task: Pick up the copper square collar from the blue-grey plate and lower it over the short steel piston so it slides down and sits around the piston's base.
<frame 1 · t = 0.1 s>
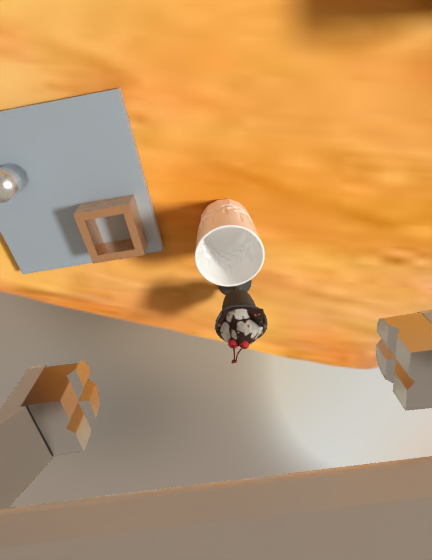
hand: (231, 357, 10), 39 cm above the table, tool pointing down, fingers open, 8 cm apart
white cup: (224, 221, 50), on the table
collar: (115, 223, 48), point 1 cm above the table, touching plate
piston: (19, 173, 45), resting on plate
sundae: (234, 282, 55), on the table
plate: (67, 189, 47), on the table
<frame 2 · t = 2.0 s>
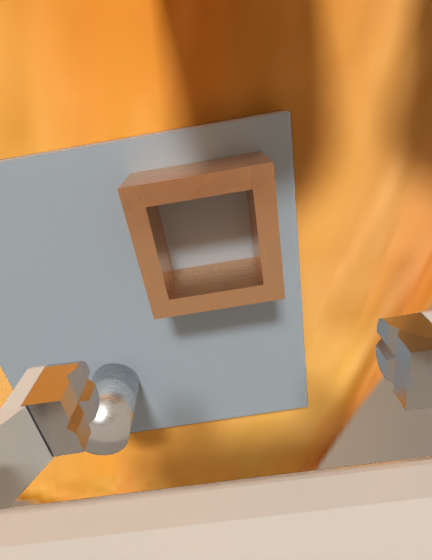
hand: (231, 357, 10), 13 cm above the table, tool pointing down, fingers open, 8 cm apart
collar: (206, 224, 20), point 1 cm above the table, touching plate
piston: (120, 367, 26), resting on plate
plate: (144, 301, 24), on the table
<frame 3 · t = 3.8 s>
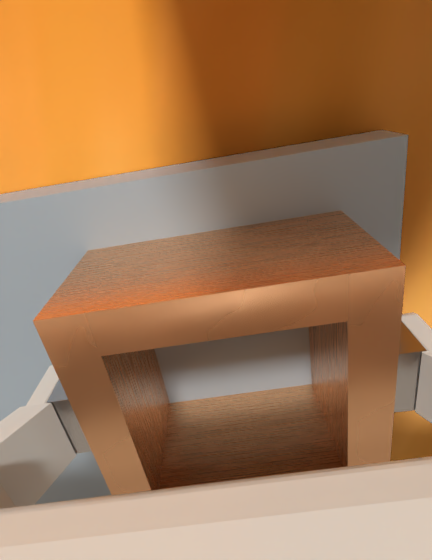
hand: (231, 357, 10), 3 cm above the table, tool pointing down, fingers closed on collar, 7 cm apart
collar: (230, 335, 11), point 2 cm above the table, touching gripper, plate
plate: (125, 430, 15), on the table
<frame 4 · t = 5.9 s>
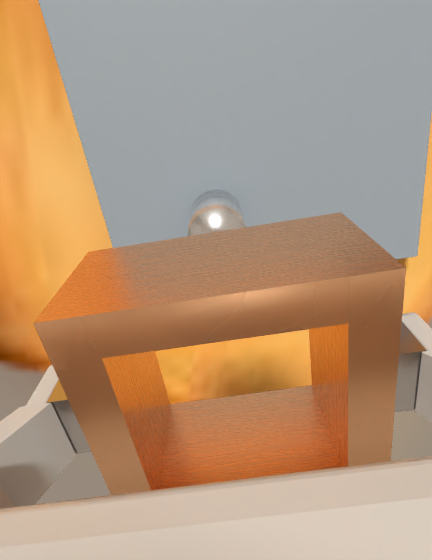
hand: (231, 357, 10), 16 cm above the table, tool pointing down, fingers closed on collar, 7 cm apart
collar: (230, 336, 11), point 15 cm above the table, touching gripper
piston: (215, 208, 25), resting on plate
plate: (251, 120, 22), on the table
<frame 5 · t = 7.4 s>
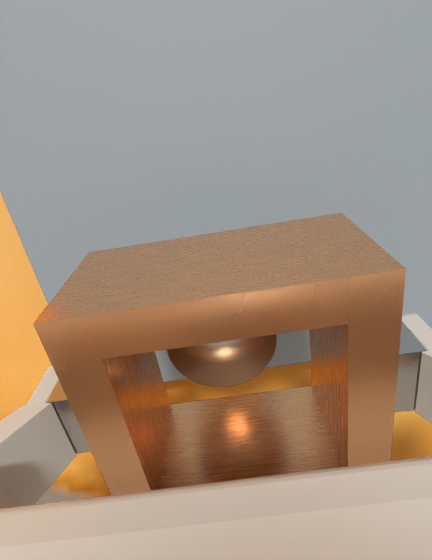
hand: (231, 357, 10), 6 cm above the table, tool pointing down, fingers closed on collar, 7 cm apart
collar: (230, 336, 11), point 5 cm above the table, touching gripper
piston: (215, 261, 16), resting on plate
plate: (274, 126, 14), on the table
when the fingers open (4 cm above the table, at t = 8.4 s): collar drops 1 cm, resting on plate.
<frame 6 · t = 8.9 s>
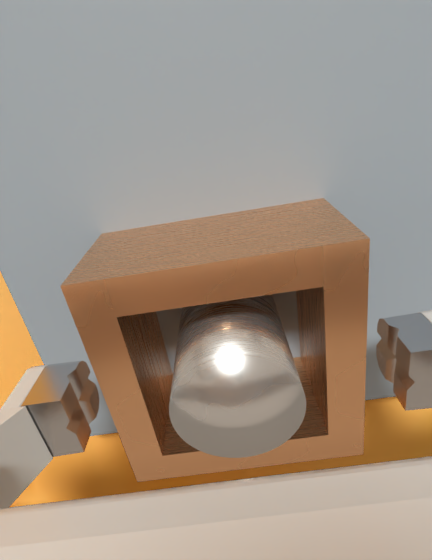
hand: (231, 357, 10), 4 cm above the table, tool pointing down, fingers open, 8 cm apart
collar: (226, 311, 13), point 1 cm above the table, touching plate
piston: (226, 290, 14), resting on plate
plate: (297, 138, 12), on the table
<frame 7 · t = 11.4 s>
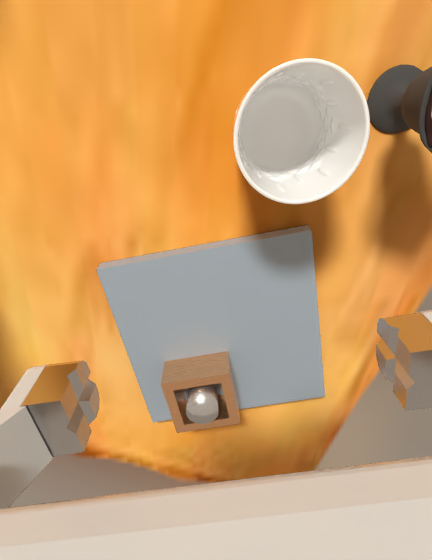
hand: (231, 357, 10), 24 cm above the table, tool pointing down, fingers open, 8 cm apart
white cup: (274, 125, 30), on the table
collar: (202, 380, 40), point 1 cm above the table, touching plate
piston: (203, 371, 41), resting on plate
sundae: (397, 100, 30), on the table
plate: (221, 330, 39), on the table
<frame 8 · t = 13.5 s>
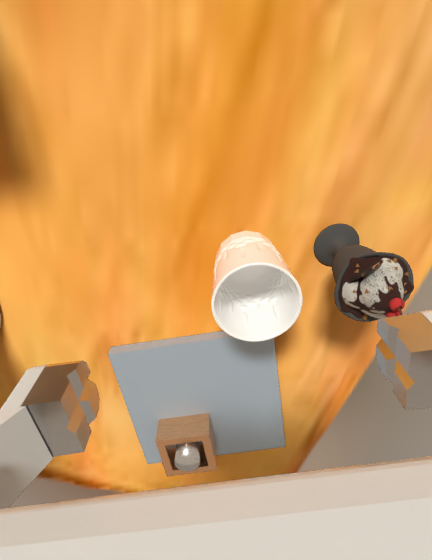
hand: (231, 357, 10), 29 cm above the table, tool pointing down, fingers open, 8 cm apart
white cup: (245, 258, 41), on the table
collar: (188, 433, 51), point 1 cm above the table, touching plate
piston: (189, 425, 52), resting on plate
sundae: (336, 244, 40), on the table
plate: (204, 396, 49), on the table
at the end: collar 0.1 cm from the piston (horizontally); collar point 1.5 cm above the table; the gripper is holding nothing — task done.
